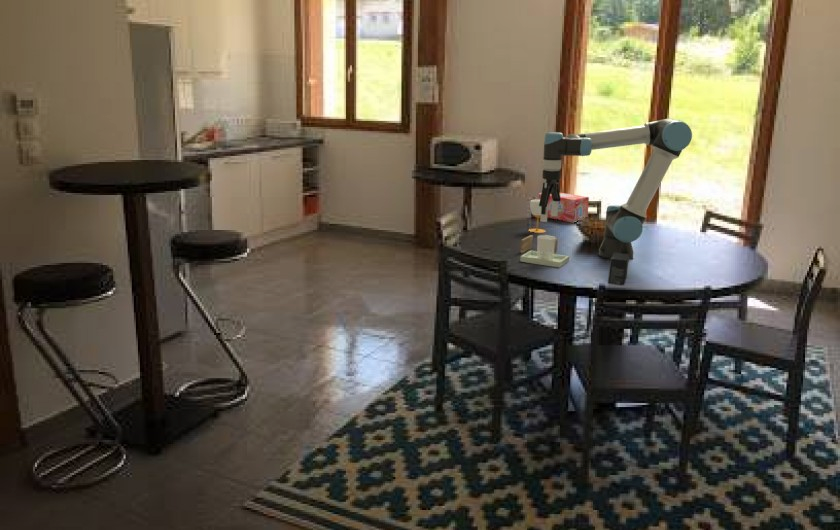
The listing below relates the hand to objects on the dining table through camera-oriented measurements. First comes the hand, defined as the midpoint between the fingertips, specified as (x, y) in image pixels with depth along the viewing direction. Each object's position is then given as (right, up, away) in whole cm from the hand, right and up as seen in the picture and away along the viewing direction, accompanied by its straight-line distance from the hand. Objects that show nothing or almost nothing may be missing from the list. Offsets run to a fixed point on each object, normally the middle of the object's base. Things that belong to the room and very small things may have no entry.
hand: (549, 218), depth 294 cm
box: (+25, +6, +94) cm, 98 cm away
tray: (-1, -18, +5) cm, 19 cm away
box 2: (+23, -27, -22) cm, 42 cm away
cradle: (-1, -14, +20) cm, 24 cm away
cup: (+5, -2, +61) cm, 61 cm away
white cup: (-1, -18, +5) cm, 18 cm away
